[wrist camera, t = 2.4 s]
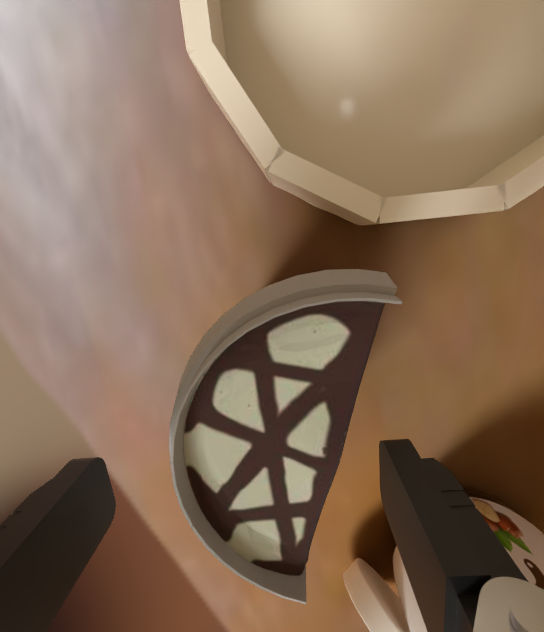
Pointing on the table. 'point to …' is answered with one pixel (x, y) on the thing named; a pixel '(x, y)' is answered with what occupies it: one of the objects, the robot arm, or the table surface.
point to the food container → (273, 419)
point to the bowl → (381, 99)
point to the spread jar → (404, 614)
